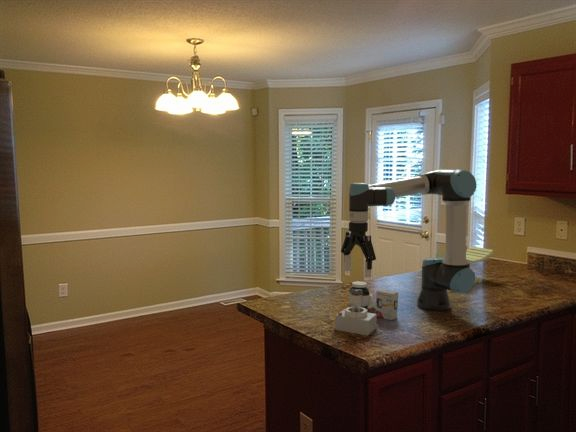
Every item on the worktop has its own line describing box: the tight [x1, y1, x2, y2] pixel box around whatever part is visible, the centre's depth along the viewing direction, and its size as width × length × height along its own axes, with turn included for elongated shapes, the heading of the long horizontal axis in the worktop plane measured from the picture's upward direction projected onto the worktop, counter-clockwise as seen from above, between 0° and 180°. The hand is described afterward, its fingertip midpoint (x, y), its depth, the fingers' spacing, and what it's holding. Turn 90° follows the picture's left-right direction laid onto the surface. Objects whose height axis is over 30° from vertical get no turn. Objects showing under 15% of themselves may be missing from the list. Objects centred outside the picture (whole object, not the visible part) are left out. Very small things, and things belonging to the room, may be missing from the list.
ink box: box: [374, 288, 399, 321], centre depth 214 cm, size 9×5×12 cm, turn 50°
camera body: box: [334, 306, 378, 336], centre depth 199 cm, size 14×10×8 cm
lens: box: [350, 289, 363, 312], centre depth 198 cm, size 5×5×10 cm
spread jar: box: [348, 280, 376, 310], centre depth 229 cm, size 12×11×12 cm
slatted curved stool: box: [435, 246, 494, 284], centre depth 283 cm, size 30×16×18 cm, turn 122°
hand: (357, 273), depth 197 cm, fingers open, 13 cm apart
